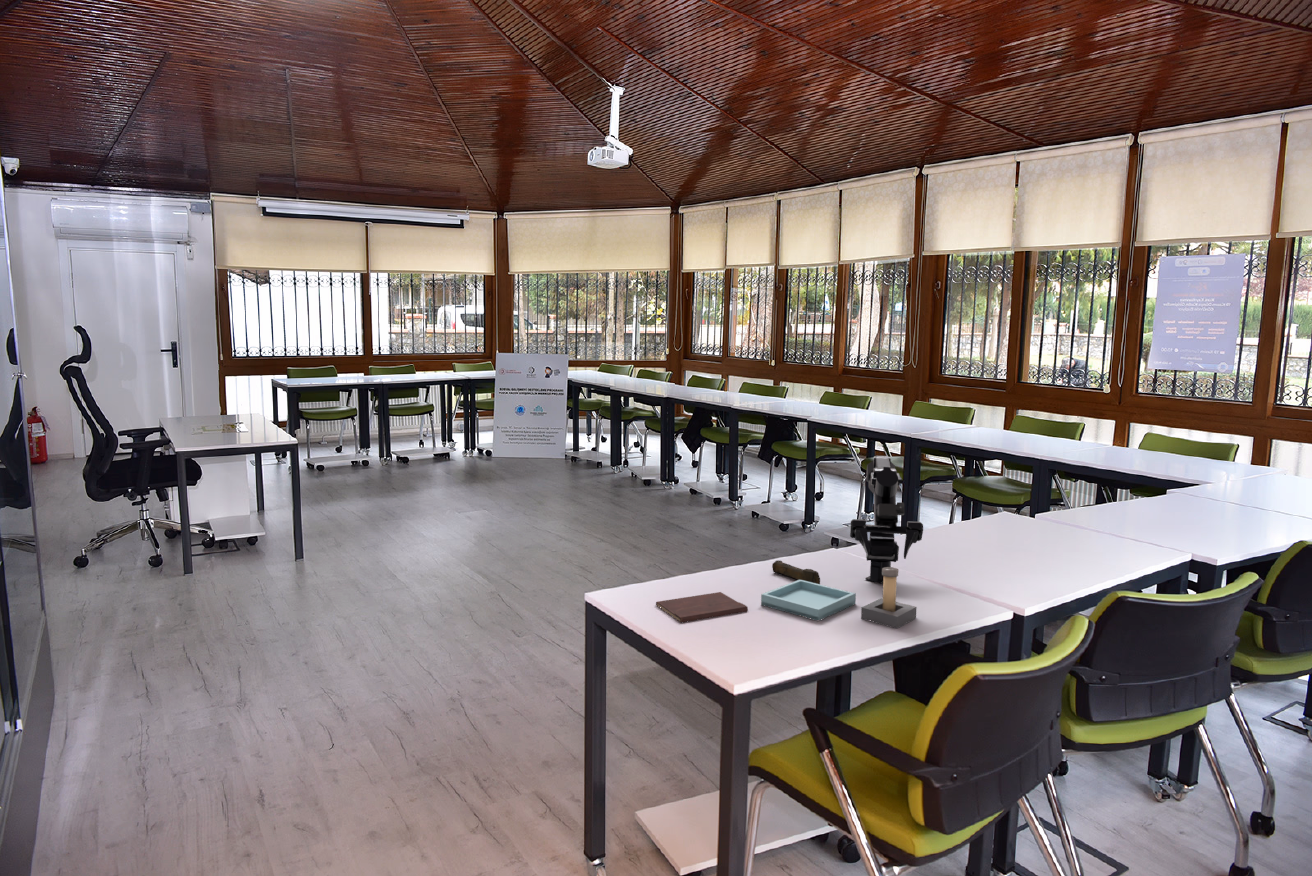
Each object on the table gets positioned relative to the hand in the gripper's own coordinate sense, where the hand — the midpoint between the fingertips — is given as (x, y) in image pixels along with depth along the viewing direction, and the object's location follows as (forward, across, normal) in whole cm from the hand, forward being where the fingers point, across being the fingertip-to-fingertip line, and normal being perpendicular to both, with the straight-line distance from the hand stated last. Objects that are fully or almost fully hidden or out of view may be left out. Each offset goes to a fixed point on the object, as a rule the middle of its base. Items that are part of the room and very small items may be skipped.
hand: (886, 557), depth 218 cm
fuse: (+16, 0, +4) cm, 16 cm away
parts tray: (+10, -20, +9) cm, 24 cm away
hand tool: (-5, -24, +25) cm, 35 cm away
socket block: (+16, 0, +4) cm, 16 cm away
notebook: (+17, -48, +4) cm, 51 cm away
